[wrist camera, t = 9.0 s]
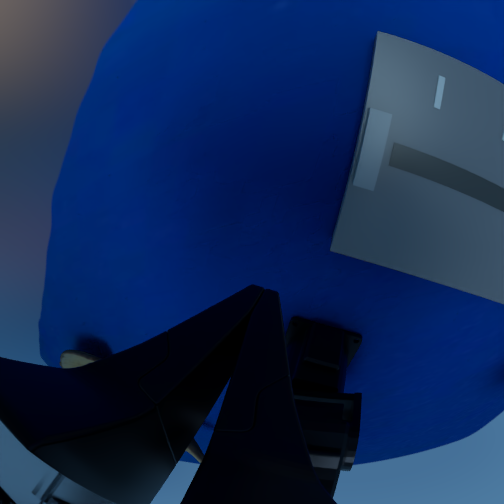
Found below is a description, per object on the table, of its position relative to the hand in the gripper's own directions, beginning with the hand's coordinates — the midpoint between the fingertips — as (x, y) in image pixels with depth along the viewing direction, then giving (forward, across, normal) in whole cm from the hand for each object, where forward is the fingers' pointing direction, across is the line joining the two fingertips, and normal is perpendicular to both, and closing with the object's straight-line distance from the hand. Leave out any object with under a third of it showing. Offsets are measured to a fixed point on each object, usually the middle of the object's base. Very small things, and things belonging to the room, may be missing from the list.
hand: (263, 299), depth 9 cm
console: (+12, -14, -4) cm, 19 cm away
